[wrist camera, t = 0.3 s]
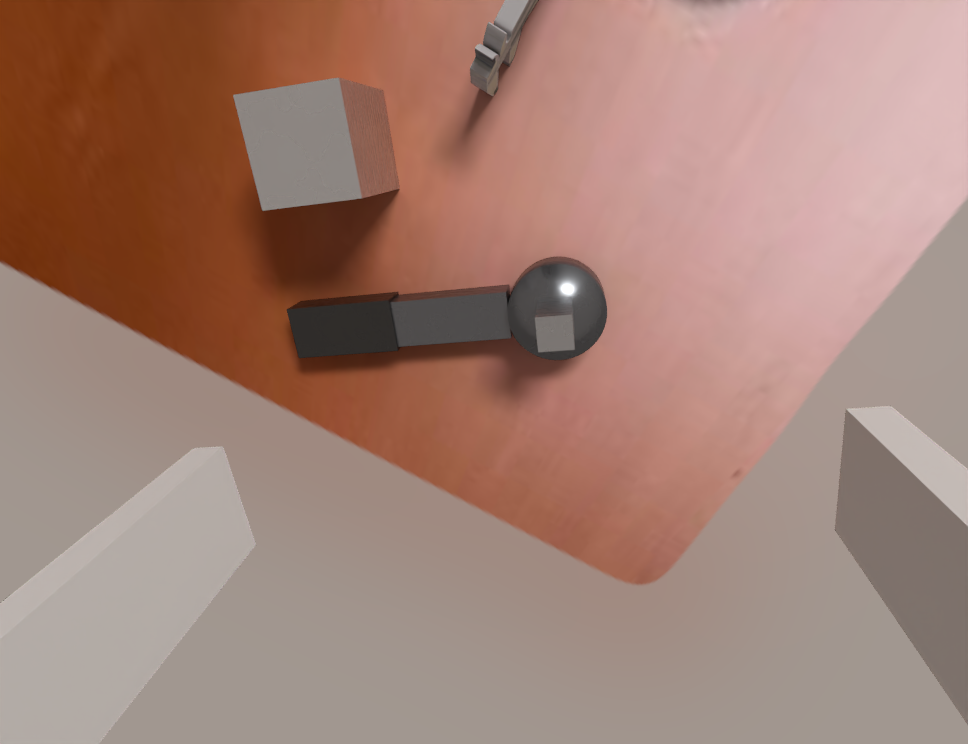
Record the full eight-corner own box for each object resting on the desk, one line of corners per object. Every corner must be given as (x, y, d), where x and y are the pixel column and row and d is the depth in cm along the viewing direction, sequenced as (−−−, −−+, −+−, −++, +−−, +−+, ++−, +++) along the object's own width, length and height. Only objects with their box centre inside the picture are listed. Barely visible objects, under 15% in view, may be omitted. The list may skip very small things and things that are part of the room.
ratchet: (296, 282, 39) (247, 307, 33) (602, 252, 36) (608, 274, 30) (316, 364, 41) (273, 401, 35) (606, 343, 38) (613, 381, 32)
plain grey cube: (295, 104, 35) (232, 94, 28) (382, 90, 34) (338, 77, 27) (316, 199, 37) (262, 210, 30) (399, 188, 36) (361, 198, 29)
